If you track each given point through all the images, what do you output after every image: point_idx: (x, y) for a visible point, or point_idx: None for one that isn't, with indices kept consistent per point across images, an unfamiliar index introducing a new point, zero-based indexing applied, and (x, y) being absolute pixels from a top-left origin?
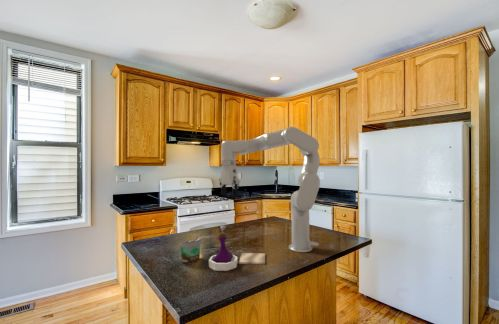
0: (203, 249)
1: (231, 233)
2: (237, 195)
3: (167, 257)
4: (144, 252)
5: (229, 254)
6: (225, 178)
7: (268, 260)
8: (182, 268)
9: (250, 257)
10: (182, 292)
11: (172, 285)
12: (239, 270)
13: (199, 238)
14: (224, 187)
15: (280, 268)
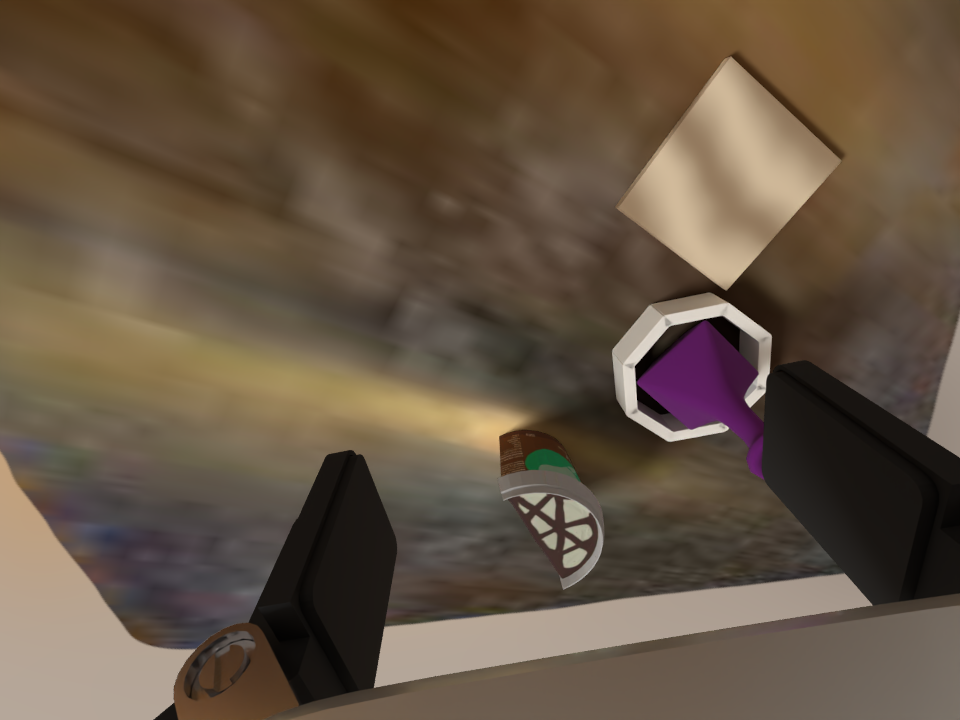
0: (406, 374)
1: (54, 11)
2: (807, 362)
3: (441, 536)
4: None
5: (732, 360)
6: None
7: (807, 99)
8: None
9: (717, 197)
10: (782, 544)
11: (716, 559)
12: (787, 322)
13: (532, 490)
14: (322, 661)
15: (942, 108)
